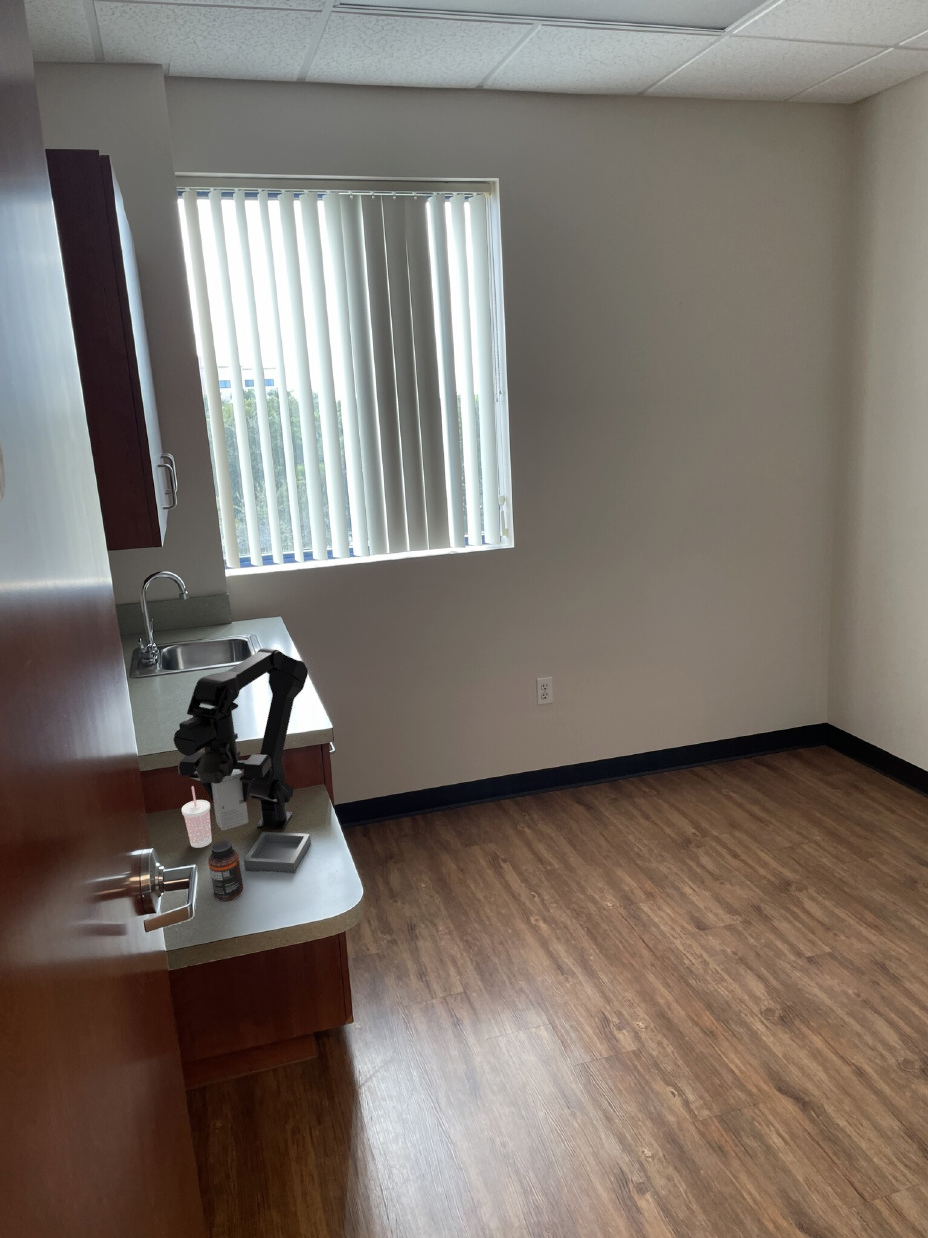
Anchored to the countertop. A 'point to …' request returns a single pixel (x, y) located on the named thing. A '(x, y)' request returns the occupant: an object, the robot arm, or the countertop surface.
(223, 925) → the countertop surface
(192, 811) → the beverage cup
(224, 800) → the skincare box
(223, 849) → the supplement bottle
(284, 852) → the tray
